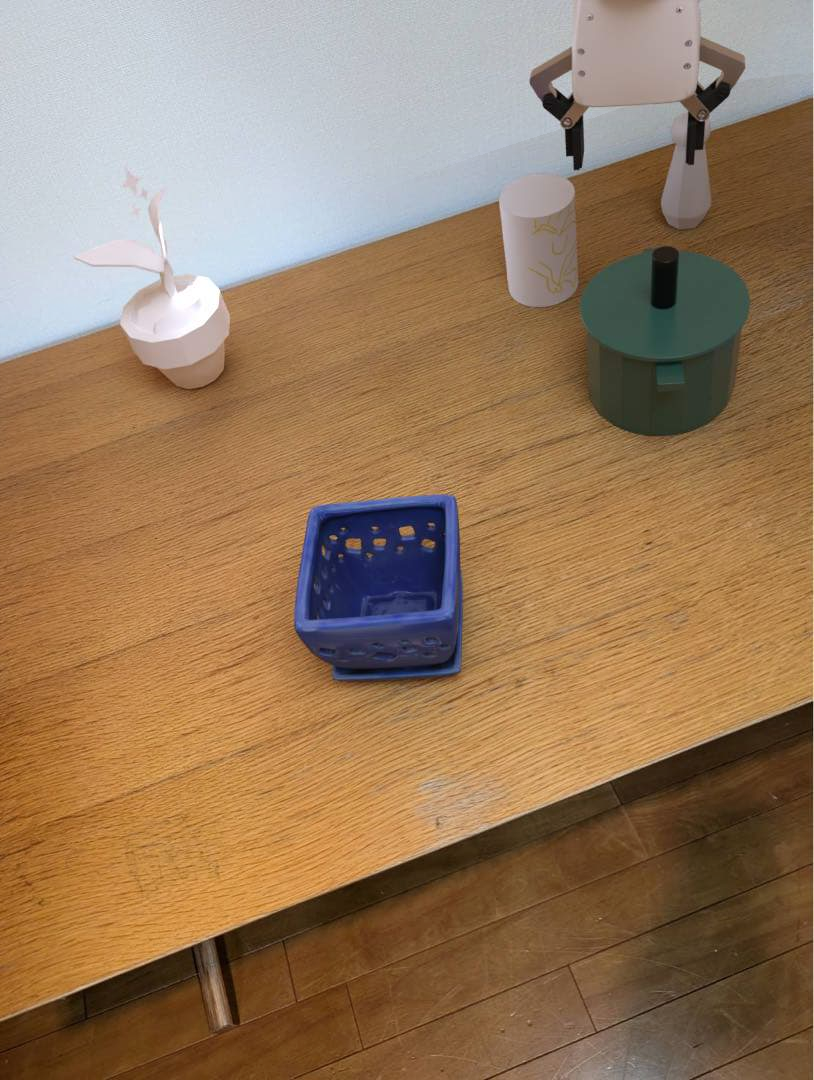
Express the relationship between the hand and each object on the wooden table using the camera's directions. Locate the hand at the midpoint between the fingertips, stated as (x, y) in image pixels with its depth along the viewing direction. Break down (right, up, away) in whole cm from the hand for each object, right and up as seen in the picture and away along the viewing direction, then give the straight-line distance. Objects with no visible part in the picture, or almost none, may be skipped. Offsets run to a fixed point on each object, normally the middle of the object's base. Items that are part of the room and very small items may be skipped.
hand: (633, 158), depth 88 cm
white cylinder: (-4, -4, +29) cm, 29 cm away
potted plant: (-45, -14, +30) cm, 56 cm away
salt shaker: (+13, +5, +32) cm, 35 cm away
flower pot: (-21, -42, +2) cm, 47 cm away
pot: (+6, -18, +16) cm, 24 cm away
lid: (+5, -11, +7) cm, 14 cm away
